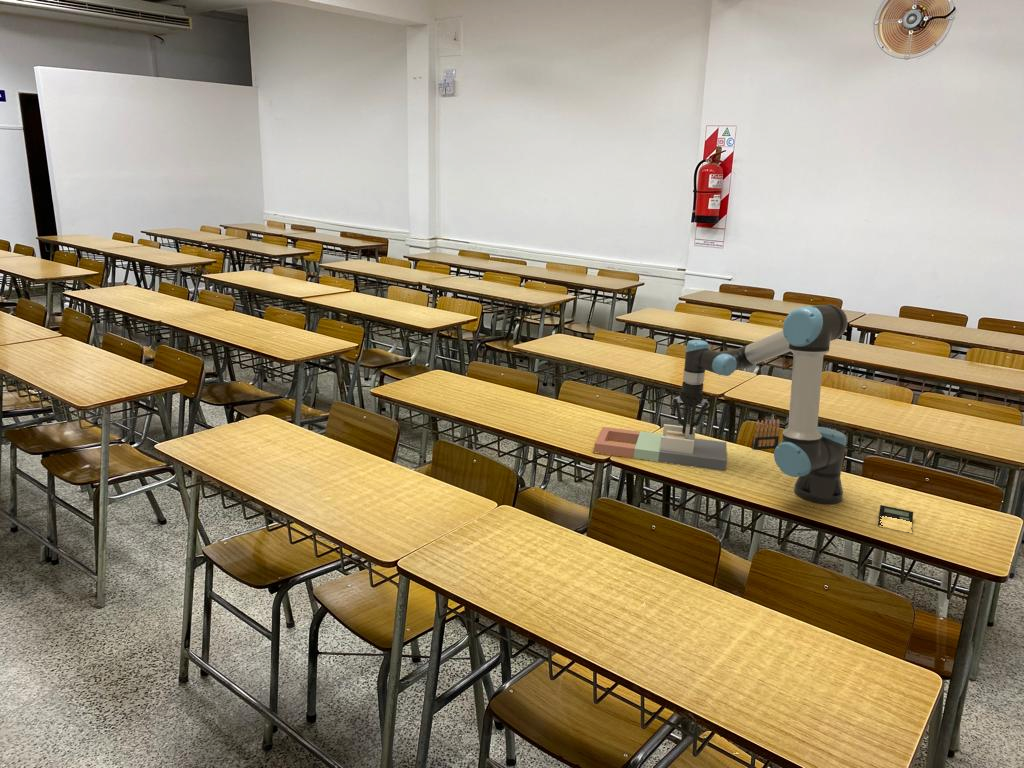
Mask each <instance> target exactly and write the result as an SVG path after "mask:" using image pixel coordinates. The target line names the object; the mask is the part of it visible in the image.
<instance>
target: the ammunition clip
mask: <svg viewBox="0 0 1024 768" xmlns="http://www.w3.org/2000/svg"><path fill="white" fill-rule="evenodd" d="M779 434H780V419H779V418H778V419H777V420H776V419H775V418H774V419H773V420H772V419H770V420H769V421H768V419H765V421H764V419H761V421H760V420H759V419H758V420H757V421H756V424H755V429H754V433H753V435H752V439H751V440H752V441H751V449H752V450H753V451H755V450H756V451H757V450H772V449H774V450H775V448H776V447H777V446H778V445H779V439H780V436H779Z"/></svg>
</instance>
